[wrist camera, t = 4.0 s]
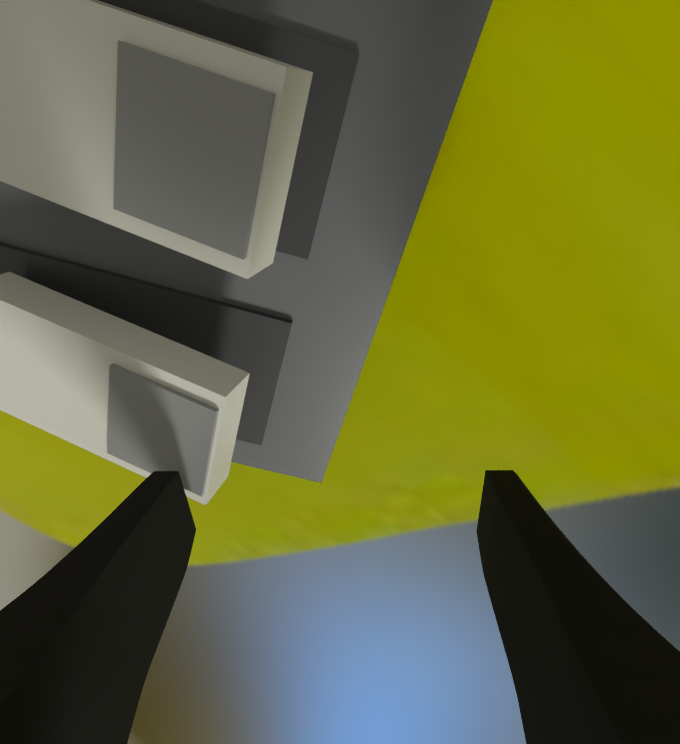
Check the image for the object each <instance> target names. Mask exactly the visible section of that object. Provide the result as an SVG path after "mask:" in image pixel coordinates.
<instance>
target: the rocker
mask: <svg viewBox="0 0 680 744" xmlns="http://www.w3.org/2000/svg"><path fill="white" fill-rule="evenodd" d="M249 375H250V373H248V372H246V371H243V370H241V369H239V368H236V367H234V366H231V365H229V364H227V363H224V362H222V361H220V360H217V359H215V358H213V357H210V356H208V355H205V354H203V353H201V352H198V351H196V350H194V349H191V348H189V347H187V346H184V345H182V344H179V343H177V342H175V341H172V340H170V339H168V338H165V337H163V336H161V335H158V334H156V333H153V332H151V331H149V330H146V329H144V328H142V327H139V326H137V325H134V324H132V323H130V322H127V321H125V320H123V319H120V318H118V317H116V316H113V315H111V314H108V313H106V312H104V311H101V310H99V309H97V308H94V307H92V306H90V305H87V304H85V303H82V302H80V301H78V300H75V299H73V298H71V297H68V296H66V295H63V294H61V293H59V292H56V291H54V290H52V289H49V288H47V287H45V286H42V285H40V284H37V283H35V282H33V281H30V280H28V279H26V278H23V277H21V276H19V275H16V274H14V273H11V272H7V273H4V274H0V410H1V411H4V412H6V413H8V414H10V415H12V416H14V417H16V418H19V419H21V420H23V421H25V422H27V423H29V424H32V425H34V426H36V427H38V428H40V429H42V430H44V431H47V432H49V433H51V434H53V435H55V436H57V437H60V438H62V439H64V440H66V441H68V442H70V443H72V444H75V445H77V446H79V447H81V448H83V449H85V450H88V451H90V452H92V453H94V454H96V455H98V456H101V457H103V458H105V459H107V460H109V461H111V462H113V463H116V464H118V465H120V466H122V467H124V468H126V469H129V470H131V471H133V472H135V473H137V474H139V475H141V476H144V477H146V478H147V477H148V476H149V475H150V474H152V473H153V472H154V471H179V474H180V477H181V481H182V484H183V487H184V491H185V494H186V496H187V497H189V498H191V499H193V500H195V501H197V502H200V503H202V504H204V505H206V504H207V503H208V502H209V500H210V499H211V498H212V496H213V495H214V494H215V493H216V491H217V490H218V489H219V487H220V486H221V485H222V484H223V482H224V481H225V480H226V478H227V477H228V474H229V469H230V465H231V460H232V455H233V450H234V446H235V441H236V436H237V431H238V427H239V422H240V417H241V412H242V408H243V403H244V398H245V394H246V389H247V384H248V379H249Z"/></svg>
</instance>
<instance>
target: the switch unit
mask: <svg viewBox="0 0 680 744" xmlns="http://www.w3.org/2000/svg"><path fill="white" fill-rule="evenodd" d="M99 1H102V2H105V3H108V4H111V5H114V6H117V7H120V8H123V9H126V10H129V11H132V12H134V13H137V14H140V15H143V16H146V17H149V18H152V19H155V20H158V21H161V22H164V23H167V24H170V25H173V26H176V27H179V28H182V29H185V30H188V31H191V32H194V33H197V34H200V35H203V36H206V37H209V38H212V39H215V40H218V41H221V42H224V43H227V44H230V45H233V46H236V47H239V48H242V49H245V50H248V51H251V52H254V53H257V54H260V55H263V56H266V57H269V58H272V59H275V60H278V61H281V62H284V63H287V64H290V65H293V66H296V67H299V68H302V69H305V70H308V71H311V72H313V76H312V80H311V85H310V90H309V95H308V99H307V104H306V109H305V113H304V118H303V123H302V128H301V132H300V137H299V142H298V147H297V151H296V156H295V161H294V166H293V170H292V175H291V180H290V185H289V189H288V194H287V199H286V204H285V208H284V213H283V218H282V223H281V227H280V232H279V237H278V242H277V246H276V251H275V256H274V261H273V263H272V264H271V265H269V266H268V267H266V268H264V269H263V270H261V271H260V272H258V273H256V274H255V275H253V276H252V277H250V278H249V279H246V278H243V277H241V276H238V275H236V274H233V273H231V272H228V271H226V270H223V269H221V268H218V267H215V266H213V265H210V264H208V263H205V262H203V261H200V260H198V259H195V258H193V257H190V256H188V255H185V254H183V253H180V252H178V251H175V250H173V249H170V248H168V247H165V246H163V245H160V244H158V243H155V242H153V241H150V240H148V239H145V238H142V237H140V236H137V235H135V234H132V233H130V232H127V231H125V230H122V229H120V228H117V227H115V226H112V225H110V224H107V223H105V222H102V221H100V220H97V219H95V218H92V217H90V216H87V215H85V214H82V213H80V212H77V211H75V210H72V209H69V208H67V207H64V206H62V205H59V204H57V203H54V202H52V201H49V200H47V199H44V198H42V197H39V196H37V195H34V194H32V193H29V192H27V191H24V190H22V189H19V188H17V187H14V186H12V185H9V184H7V183H4V182H2V181H0V274H4V273H7V272H11V273H14V274H16V275H19V276H21V277H23V278H26V279H28V280H30V281H33V282H35V283H37V284H40V285H42V286H45V287H47V288H49V289H52V290H54V291H56V292H59V293H61V294H63V295H66V296H68V297H71V298H73V299H75V300H78V301H80V302H82V303H85V304H87V305H90V306H92V307H94V308H97V309H99V310H101V311H104V312H106V313H108V314H111V315H113V316H116V317H118V318H120V319H123V320H125V321H127V322H130V323H132V324H134V325H137V326H139V327H142V328H144V329H146V330H149V331H151V332H153V333H156V334H158V335H161V336H163V337H165V338H168V339H170V340H172V341H175V342H177V343H179V344H182V345H184V346H187V347H189V348H191V349H194V350H196V351H198V352H201V353H203V354H205V355H208V356H210V357H213V358H215V359H217V360H220V361H222V362H224V363H227V364H229V365H231V366H234V367H236V368H239V369H241V370H243V371H246V372H248V373H250V375H249V379H248V384H247V389H246V394H245V398H244V403H243V408H242V412H241V417H240V422H239V427H238V431H237V436H236V441H235V446H234V450H233V455H232V460H231V462H235V463H239V464H243V465H248V466H252V467H256V468H260V469H265V470H269V471H273V472H278V473H282V474H286V475H290V476H295V477H299V478H303V479H307V480H312V481H316V482H320V483H321V482H322V479H323V476H324V474H325V471H326V468H327V465H328V462H329V459H330V457H331V454H332V451H333V448H334V445H335V443H336V440H337V437H338V434H339V431H340V429H341V426H342V423H343V420H344V417H345V414H346V412H347V409H348V406H349V403H350V400H351V398H352V395H353V392H354V389H355V386H356V384H357V381H358V378H359V375H360V372H361V369H362V367H363V364H364V361H365V358H366V355H367V353H368V350H369V347H370V344H371V341H372V338H373V336H374V333H375V330H376V327H377V324H378V322H379V319H380V316H381V313H382V310H383V308H384V305H385V302H386V299H387V296H388V293H389V291H390V288H391V285H392V282H393V279H394V277H395V274H396V271H397V268H398V265H399V263H400V260H401V257H402V254H403V251H404V248H405V246H406V243H407V240H408V237H409V234H410V232H411V229H412V226H413V223H414V220H415V218H416V215H417V212H418V209H419V206H420V203H421V201H422V198H423V195H424V192H425V189H426V187H427V184H428V181H429V178H430V175H431V172H432V170H433V167H434V164H435V161H436V158H437V156H438V153H439V150H440V147H441V144H442V142H443V139H444V136H445V133H446V130H447V127H448V125H449V122H450V119H451V116H452V113H453V111H454V108H455V105H456V102H457V99H458V97H459V94H460V91H461V88H462V85H463V82H464V80H465V77H466V74H467V71H468V68H469V66H470V63H471V60H472V57H473V54H474V51H475V49H476V46H477V43H478V40H479V37H480V35H481V32H482V29H483V26H484V23H485V21H486V18H487V15H488V12H489V9H490V6H491V4H492V1H493V0H99Z"/></svg>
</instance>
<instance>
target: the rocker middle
mask: <svg viewBox="0 0 680 744" xmlns="http://www.w3.org/2000/svg"><path fill="white" fill-rule="evenodd" d="M312 76H313V72H311V71H308V70H305V69H302V68H299V67H296V66H293V65H290V64H287V63H284V62H281V61H278V60H275V59H272V58H269V57H266V56H263V55H260V54H257V53H254V52H251V51H248V50H245V49H242V48H239V47H236V46H233V45H230V44H227V43H224V42H221V41H218V40H215V39H212V38H209V37H206V36H203V35H200V34H197V33H194V32H191V31H188V30H185V29H182V28H179V27H176V26H173V25H170V24H167V23H164V22H161V21H158V20H155V19H152V18H149V17H146V16H143V15H140V14H137V13H134V12H132V11H129V10H126V9H123V8H120V7H117V6H114V5H111V4H108V3H105V2H102V1H99V0H0V181H2V182H4V183H7V184H9V185H12V186H14V187H17V188H19V189H22V190H24V191H27V192H29V193H32V194H34V195H37V196H39V197H42V198H44V199H47V200H49V201H52V202H54V203H57V204H59V205H62V206H64V207H67V208H69V209H72V210H75V211H77V212H80V213H82V214H85V215H87V216H90V217H92V218H95V219H97V220H100V221H102V222H105V223H107V224H110V225H112V226H115V227H117V228H120V229H122V230H125V231H127V232H130V233H132V234H135V235H137V236H140V237H142V238H145V239H148V240H150V241H153V242H155V243H158V244H160V245H163V246H165V247H168V248H170V249H173V250H175V251H178V252H180V253H183V254H185V255H188V256H190V257H193V258H195V259H198V260H200V261H203V262H205V263H208V264H210V265H213V266H215V267H218V268H221V269H223V270H226V271H228V272H231V273H233V274H236V275H238V276H241V277H243V278H246V279H249V278H250V277H252V276H253V275H255V274H256V273H258V272H260V271H261V270H263V269H264V268H266V267H268V266H269V265H271V264H272V263H273V261H274V256H275V251H276V246H277V242H278V237H279V232H280V227H281V223H282V218H283V213H284V208H285V204H286V199H287V194H288V189H289V185H290V180H291V175H292V170H293V166H294V161H295V156H296V151H297V147H298V142H299V137H300V132H301V128H302V123H303V118H304V113H305V109H306V104H307V99H308V95H309V90H310V85H311V80H312Z"/></svg>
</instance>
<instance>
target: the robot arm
mask: <svg viewBox="0 0 680 744" xmlns="http://www.w3.org/2000/svg"><path fill="white" fill-rule="evenodd" d="M195 532H196V528H195V525H194V521H193V518H192V514H191V511H190V508H189V504H188V501H187V497H186V494H185V491H184V487H183V484H182V481H181V477H180V474H179V471H154V472H153V473H152V474H150V475H149V476H148V477H147V478H146V479H145V480H144V481H143V482H142V483H141V484H140V485H139V486H138V487H137V488H136V489H135V490H134V491H133V492H132V493H131V494H130V495H129V496H128V497H127V498H126V499H125V500H124V501H123V502H122V503H121V504H120V505H119V506H118V507H117V508H116V509H115V510H114V511H113V512H112V513H111V514H110V515H109V516H108V517H107V518H106V519H105V520H104V521H103V522H102V523H101V524H100V525H99V526H98V527H97V528H96V529H94V530H93V531H92V532H91V533H90V534H89V535H88V536H87V537H86V538H85V539H84V540H83V541H82V542H81V543H80V544H79V545H78V546H76V547H75V548H74V549H73V550H72V551H71V552H70V553H69V554H68V555H66V557H64V558H63V559H62V560H61V561H60V562H59V563H57V565H55V566H54V567H53V568H52V569H51V570H50V571H48V572H47V573H46V574H45V575H44V576H43V577H42V578H40V579H39V580H38V581H37V582H36V583H35V584H33V585H32V586H31V587H30V588H28V589H27V590H26V591H25V592H24V593H22V594H21V595H20V596H19V597H17V598H16V599H15V600H13V601H12V602H11V603H10V604H8V605H7V606H6V607H4V608H3V609H2V610H1V611H0V744H127V742H128V738H129V734H130V731H131V727H132V724H133V720H134V716H135V713H136V709H137V706H138V702H139V699H140V695H141V691H142V688H143V685H144V682H145V679H146V676H147V673H148V670H149V667H150V665H151V662H152V659H153V657H154V654H155V651H156V649H157V646H158V644H159V641H160V638H161V636H162V633H163V630H164V628H165V625H166V623H167V620H168V617H169V615H170V612H171V610H172V607H173V604H174V602H175V599H176V597H177V594H178V591H179V589H180V586H181V582H182V580H183V578H184V575H185V572H186V569H187V565H188V561H189V557H190V553H191V549H192V545H193V541H194V536H195ZM477 537H478V543H479V549H480V556H481V562H482V567H483V573H484V577H485V581H486V585H487V588H488V592H489V595H490V598H491V602H492V606H493V610H494V613H495V616H496V620H497V623H498V627H499V631H500V634H501V638H502V641H503V644H504V648H505V651H506V655H507V658H508V662H509V666H510V669H511V673H512V677H513V681H514V685H515V689H516V693H517V697H518V702H519V707H520V712H521V718H522V723H523V728H524V733H525V738H526V743H527V744H680V652H679V651H678V650H677V649H676V648H675V647H674V646H673V645H672V644H670V643H669V642H668V641H667V640H666V639H665V638H664V637H663V636H662V635H660V634H659V633H658V632H657V631H656V630H655V629H654V628H653V627H652V626H651V625H650V624H649V623H647V622H646V621H645V620H644V619H643V618H642V617H641V616H640V615H639V614H638V613H637V612H636V611H635V610H633V608H632V607H630V605H628V603H627V602H626V601H625V600H623V598H622V597H621V596H620V595H619V594H618V593H617V592H616V591H615V590H613V588H612V587H611V586H610V585H609V584H608V583H607V582H606V581H605V580H604V579H603V578H602V577H601V576H600V575H599V573H598V572H597V571H596V570H595V569H594V568H593V567H592V566H591V565H590V564H589V563H588V562H587V560H586V559H585V558H584V557H583V556H582V555H581V554H580V553H579V551H578V550H577V549H576V548H575V547H574V546H573V545H572V543H571V542H570V541H569V540H568V539H567V538H566V536H565V535H564V534H563V533H562V532H561V530H559V528H558V527H557V526H556V524H555V523H554V522H553V521H552V519H551V518H550V517H549V516H548V514H547V513H546V512H545V511H544V509H543V508H542V507H541V506H540V504H539V503H538V502H537V500H536V499H535V498H534V496H533V495H532V494H531V493H530V491H529V490H528V489H527V487H526V486H525V485H524V483H523V482H522V481H521V479H520V478H519V476H518V475H517V474H516V473H515V472H514V471H513V470H486V472H485V478H484V485H483V492H482V499H481V505H480V512H479V519H478V526H477Z"/></svg>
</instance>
